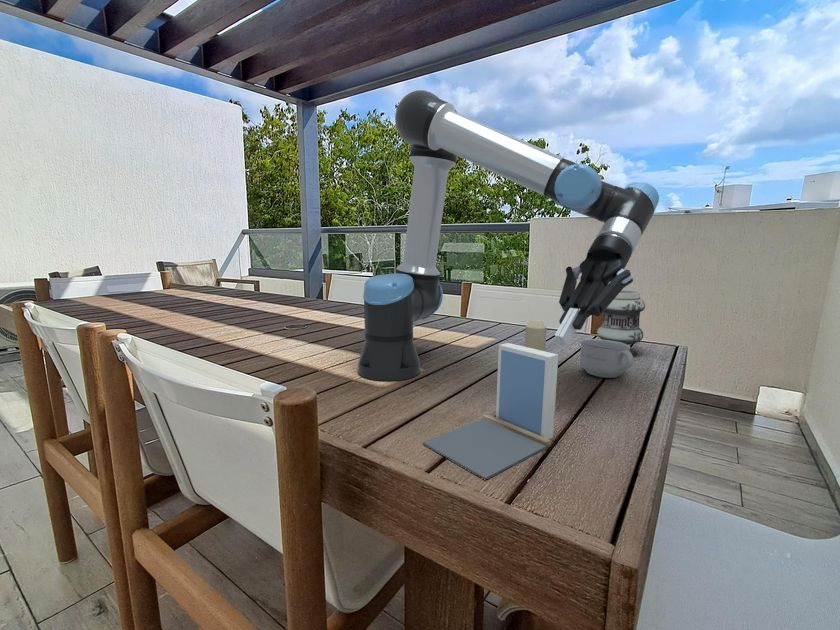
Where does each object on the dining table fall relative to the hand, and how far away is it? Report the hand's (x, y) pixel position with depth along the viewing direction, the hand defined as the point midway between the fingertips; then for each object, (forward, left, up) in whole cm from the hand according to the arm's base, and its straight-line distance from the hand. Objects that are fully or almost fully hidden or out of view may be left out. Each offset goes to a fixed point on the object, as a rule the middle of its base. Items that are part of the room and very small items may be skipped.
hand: (561, 340), depth 75 cm
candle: (+3, +40, -14) cm, 42 cm away
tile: (-7, -7, -14) cm, 17 cm away
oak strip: (-9, -9, -14) cm, 19 cm away
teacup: (+17, +24, -14) cm, 33 cm away
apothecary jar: (+28, +47, -14) cm, 56 cm away
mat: (-14, -14, -14) cm, 24 cm away
